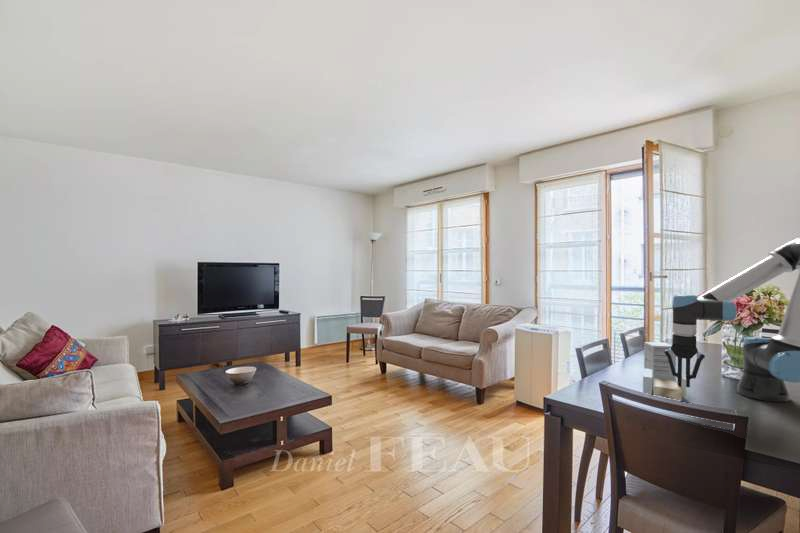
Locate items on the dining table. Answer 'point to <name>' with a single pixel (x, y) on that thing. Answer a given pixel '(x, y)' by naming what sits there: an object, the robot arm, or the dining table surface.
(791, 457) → the dining table surface
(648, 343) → the supplement box
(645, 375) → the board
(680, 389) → the maple block
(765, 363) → the robot arm
